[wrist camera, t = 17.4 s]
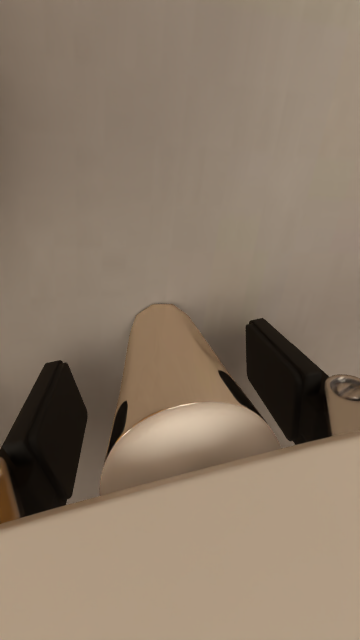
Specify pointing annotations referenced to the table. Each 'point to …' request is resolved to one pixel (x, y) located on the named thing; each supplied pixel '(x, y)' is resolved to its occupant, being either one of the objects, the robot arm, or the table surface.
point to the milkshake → (177, 406)
